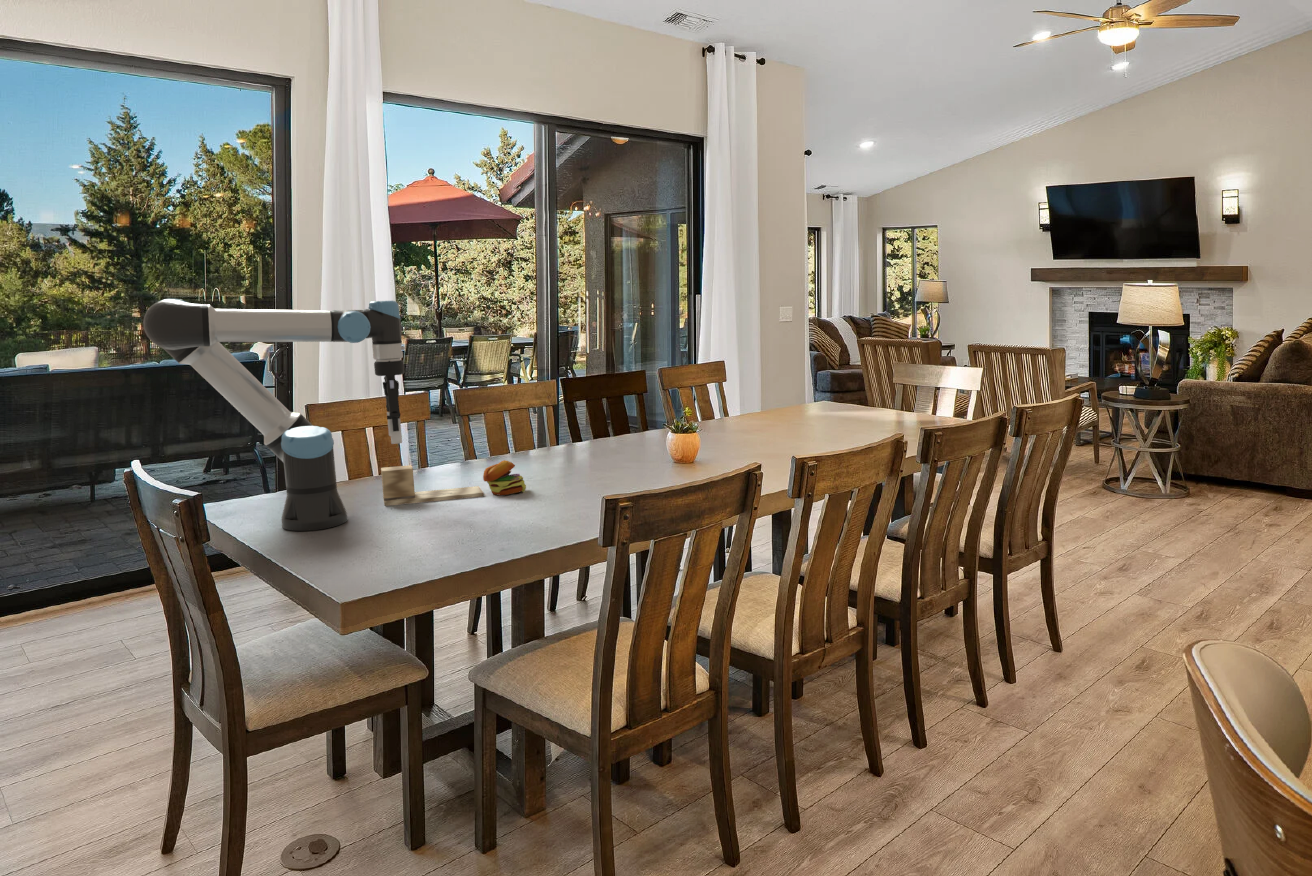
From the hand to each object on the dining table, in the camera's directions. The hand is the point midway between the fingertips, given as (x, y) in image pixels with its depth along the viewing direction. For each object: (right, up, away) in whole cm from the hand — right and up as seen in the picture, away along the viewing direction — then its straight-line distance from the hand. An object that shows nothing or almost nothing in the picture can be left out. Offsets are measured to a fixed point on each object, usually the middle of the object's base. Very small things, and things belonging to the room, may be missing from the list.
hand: (395, 439), depth 246 cm
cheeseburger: (+28, -15, +9) cm, 33 cm away
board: (+9, -16, +6) cm, 19 cm away
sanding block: (0, -16, +3) cm, 16 cm away
